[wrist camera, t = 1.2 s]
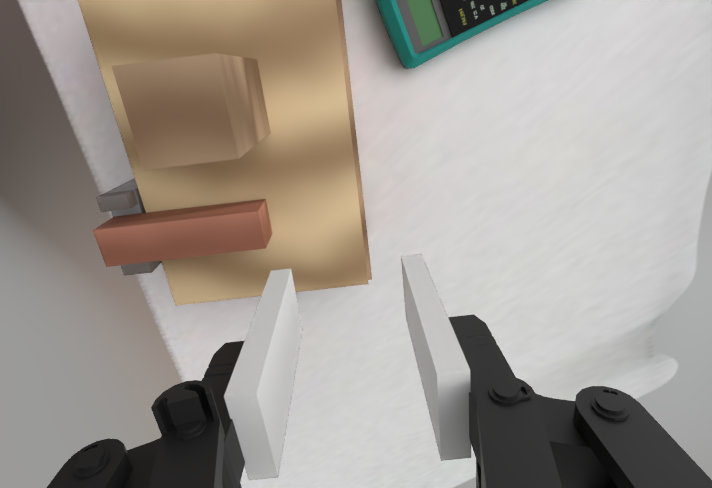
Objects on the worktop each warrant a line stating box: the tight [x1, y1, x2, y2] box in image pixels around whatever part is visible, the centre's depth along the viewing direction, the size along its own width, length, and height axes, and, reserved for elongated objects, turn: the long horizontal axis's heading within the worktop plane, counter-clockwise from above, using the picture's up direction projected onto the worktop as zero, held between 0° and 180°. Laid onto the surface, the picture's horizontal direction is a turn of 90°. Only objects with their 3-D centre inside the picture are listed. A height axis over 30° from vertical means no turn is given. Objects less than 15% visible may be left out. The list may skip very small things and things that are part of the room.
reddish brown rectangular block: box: [93, 199, 273, 267], centre depth 25 cm, size 2×10×2 cm, turn 97°
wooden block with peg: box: [78, 0, 368, 305], centre depth 22 cm, size 19×13×9 cm
